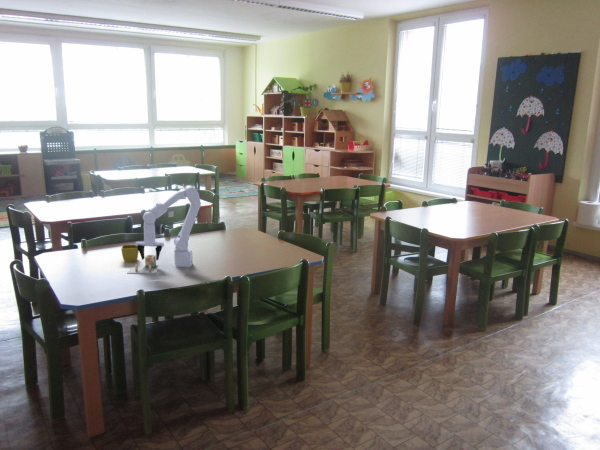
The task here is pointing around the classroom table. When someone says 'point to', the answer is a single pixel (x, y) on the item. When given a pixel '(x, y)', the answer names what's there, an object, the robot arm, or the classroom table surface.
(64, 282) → the classroom table surface
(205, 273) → the classroom table surface
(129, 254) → the flower pot
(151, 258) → the sleeve
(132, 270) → the pin board
